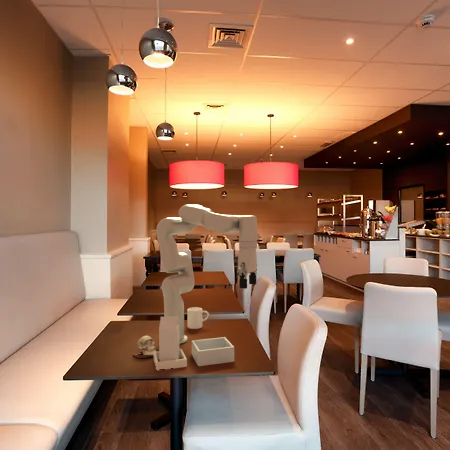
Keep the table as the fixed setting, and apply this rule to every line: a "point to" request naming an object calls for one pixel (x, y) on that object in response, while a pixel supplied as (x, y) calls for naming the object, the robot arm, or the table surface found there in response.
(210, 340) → the tub
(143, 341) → the skull
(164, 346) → the milk carton
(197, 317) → the mug
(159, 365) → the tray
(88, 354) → the table surface
